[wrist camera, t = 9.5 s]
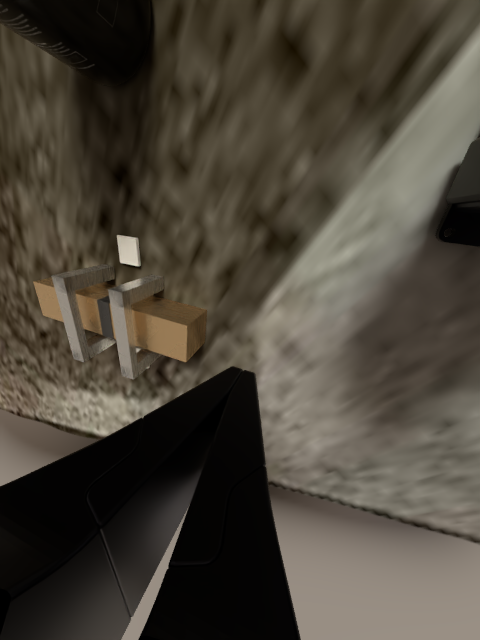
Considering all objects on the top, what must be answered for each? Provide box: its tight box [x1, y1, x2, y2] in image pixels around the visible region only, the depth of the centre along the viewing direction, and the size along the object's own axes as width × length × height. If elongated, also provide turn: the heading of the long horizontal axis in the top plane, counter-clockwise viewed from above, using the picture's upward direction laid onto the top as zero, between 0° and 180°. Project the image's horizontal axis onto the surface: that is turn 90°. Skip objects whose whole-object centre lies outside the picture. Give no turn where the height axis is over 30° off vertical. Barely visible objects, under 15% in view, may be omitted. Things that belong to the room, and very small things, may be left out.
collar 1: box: [51, 264, 117, 362], centre depth 21 cm, size 1×8×5 cm, turn 173°
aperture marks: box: [117, 235, 150, 368], centre depth 23 cm, size 2×14×1 cm, turn 173°
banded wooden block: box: [33, 278, 207, 362], centre depth 21 cm, size 16×4×4 cm, turn 82°
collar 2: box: [108, 275, 164, 379], centre depth 20 cm, size 1×8×5 cm, turn 174°
